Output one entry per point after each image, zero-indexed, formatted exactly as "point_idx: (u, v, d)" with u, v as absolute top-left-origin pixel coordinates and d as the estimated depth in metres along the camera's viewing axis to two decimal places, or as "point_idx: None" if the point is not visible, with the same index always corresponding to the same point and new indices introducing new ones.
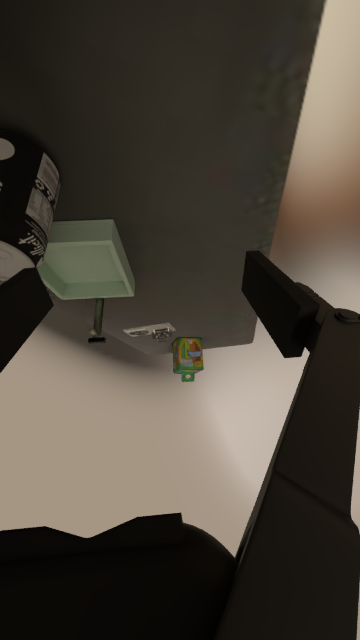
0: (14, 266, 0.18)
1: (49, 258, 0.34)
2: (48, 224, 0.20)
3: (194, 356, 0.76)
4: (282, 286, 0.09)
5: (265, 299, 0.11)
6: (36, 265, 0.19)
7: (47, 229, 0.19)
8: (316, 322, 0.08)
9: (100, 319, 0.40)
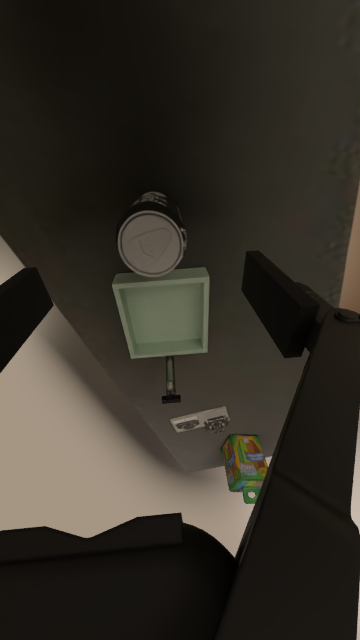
0: (163, 256, 0.20)
1: (135, 310, 0.36)
2: None
3: (256, 460, 0.59)
4: (282, 286, 0.09)
5: (265, 299, 0.11)
6: None
7: None
8: (316, 322, 0.08)
9: (173, 375, 0.36)
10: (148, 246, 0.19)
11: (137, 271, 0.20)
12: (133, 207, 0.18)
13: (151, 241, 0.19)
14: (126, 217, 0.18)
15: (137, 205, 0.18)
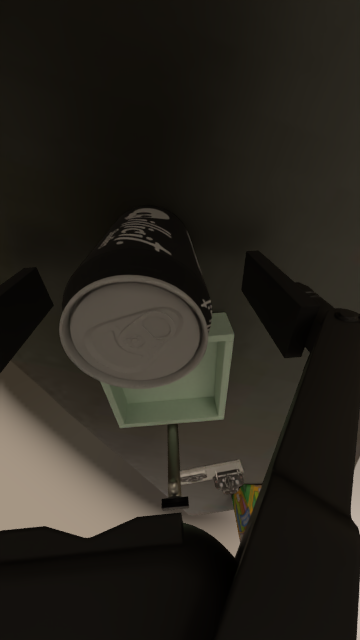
0: (163, 355, 0.09)
1: None
2: None
3: None
4: (282, 286, 0.09)
5: (265, 299, 0.11)
6: None
7: None
8: (316, 322, 0.08)
9: (178, 459, 0.25)
10: (131, 340, 0.09)
11: (111, 380, 0.10)
12: (94, 260, 0.08)
13: (137, 332, 0.09)
14: (78, 284, 0.08)
15: (103, 256, 0.08)
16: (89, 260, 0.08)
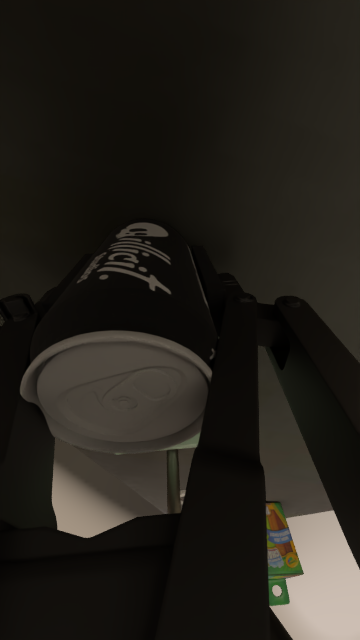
0: (161, 417, 0.07)
1: None
2: None
3: (281, 542, 0.46)
4: (203, 275, 0.11)
5: None
6: None
7: None
8: (223, 304, 0.10)
9: (178, 491, 0.23)
10: (118, 402, 0.07)
11: (95, 445, 0.08)
12: (68, 304, 0.06)
13: (127, 393, 0.06)
14: (46, 336, 0.06)
15: (80, 299, 0.06)
16: (61, 303, 0.06)
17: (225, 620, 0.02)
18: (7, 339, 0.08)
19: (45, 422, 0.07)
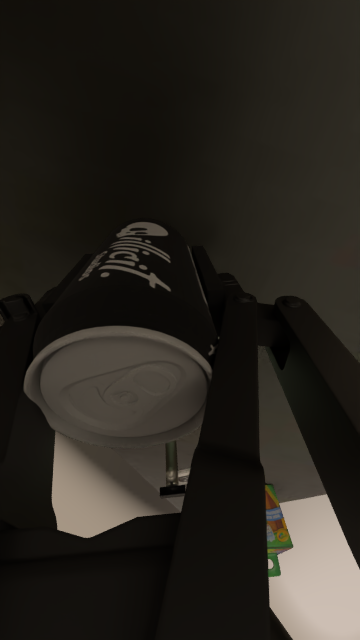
0: (161, 412, 0.07)
1: None
2: None
3: (272, 519, 0.50)
4: (203, 275, 0.11)
5: None
6: None
7: None
8: (224, 304, 0.10)
9: (175, 451, 0.27)
10: (120, 396, 0.07)
11: (96, 439, 0.08)
12: (70, 301, 0.06)
13: (127, 388, 0.07)
14: (48, 332, 0.06)
15: (82, 296, 0.06)
16: (64, 300, 0.06)
17: (225, 620, 0.02)
18: (7, 339, 0.08)
19: (45, 422, 0.07)
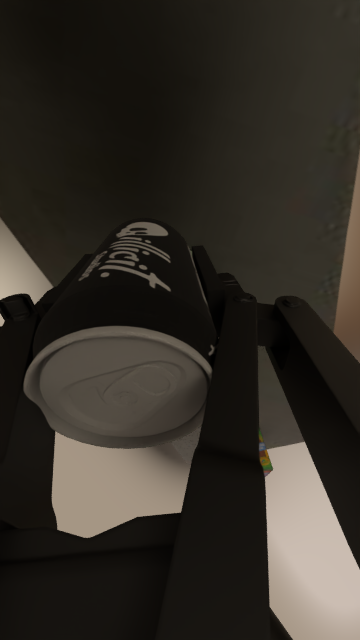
0: (161, 412, 0.07)
1: None
2: None
3: None
4: (203, 275, 0.11)
5: None
6: None
7: None
8: (224, 304, 0.10)
9: None
10: (119, 396, 0.07)
11: (96, 440, 0.08)
12: (70, 301, 0.06)
13: (127, 389, 0.07)
14: (48, 332, 0.06)
15: (82, 296, 0.06)
16: (64, 300, 0.06)
17: (225, 620, 0.02)
18: (7, 339, 0.08)
19: (45, 422, 0.07)
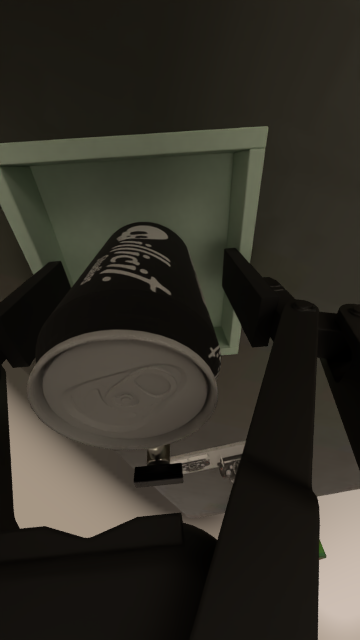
0: (162, 414, 0.08)
1: (79, 259, 0.16)
2: None
3: None
4: (249, 280, 0.10)
5: (238, 293, 0.12)
6: None
7: None
8: (276, 313, 0.09)
9: None
10: (121, 399, 0.07)
11: (97, 441, 0.08)
12: (72, 305, 0.06)
13: (128, 390, 0.07)
14: (51, 335, 0.06)
15: (84, 300, 0.06)
16: (66, 304, 0.06)
17: None
18: None
19: None
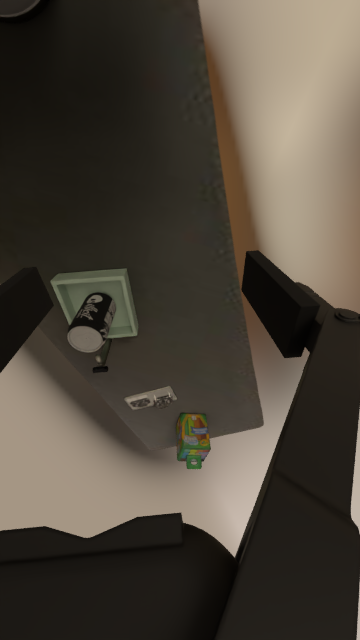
0: (93, 343, 0.38)
1: (76, 302, 0.46)
2: (110, 326, 0.41)
3: (199, 433, 0.69)
4: (282, 286, 0.09)
5: (265, 299, 0.11)
6: (102, 343, 0.39)
7: (109, 328, 0.41)
8: (316, 322, 0.08)
9: (106, 353, 0.46)
10: (84, 339, 0.37)
11: (80, 349, 0.38)
12: (75, 322, 0.36)
13: (85, 337, 0.37)
14: (71, 327, 0.36)
15: (77, 321, 0.36)
16: (74, 321, 0.37)
17: None
18: None
19: None
